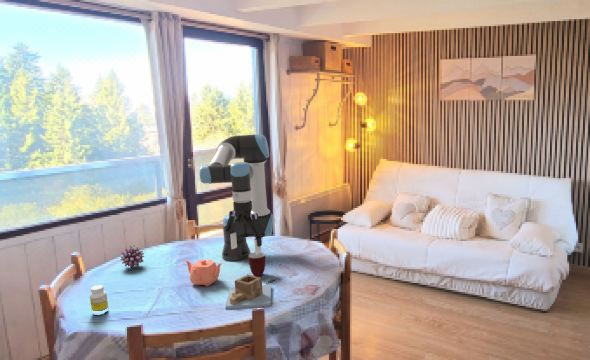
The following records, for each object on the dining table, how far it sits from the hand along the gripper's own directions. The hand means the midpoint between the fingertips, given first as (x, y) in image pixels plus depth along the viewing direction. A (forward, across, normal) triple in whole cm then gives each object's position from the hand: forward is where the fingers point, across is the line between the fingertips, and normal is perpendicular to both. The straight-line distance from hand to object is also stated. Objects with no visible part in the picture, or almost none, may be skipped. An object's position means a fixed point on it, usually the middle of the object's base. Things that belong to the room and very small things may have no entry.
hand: (246, 250), depth 186 cm
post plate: (+21, 0, 0) cm, 21 cm away
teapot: (+21, -28, 0) cm, 35 cm away
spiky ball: (+21, -76, -5) cm, 79 cm away
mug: (+21, -12, +20) cm, 31 cm away
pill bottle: (+21, -43, -42) cm, 64 cm away
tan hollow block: (+19, 0, -3) cm, 20 cm away
